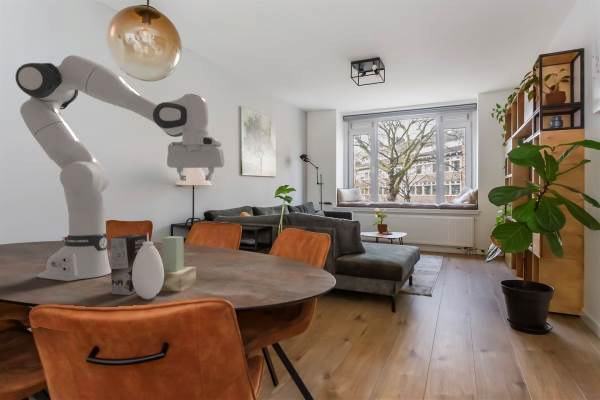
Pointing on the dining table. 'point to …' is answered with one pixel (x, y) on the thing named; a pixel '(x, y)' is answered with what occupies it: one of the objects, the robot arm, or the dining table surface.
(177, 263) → the sage post
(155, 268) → the white air blower bulb
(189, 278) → the base block
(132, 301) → the dining table surface
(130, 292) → the coffee box
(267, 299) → the dining table surface
